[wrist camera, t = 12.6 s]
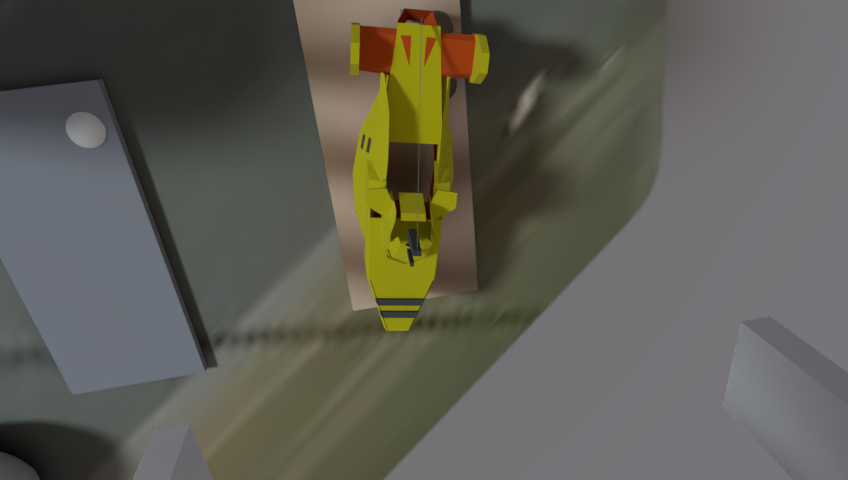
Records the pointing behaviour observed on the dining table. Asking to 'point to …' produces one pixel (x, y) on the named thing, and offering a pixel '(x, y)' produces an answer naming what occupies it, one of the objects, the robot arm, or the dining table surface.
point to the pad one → (87, 242)
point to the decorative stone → (15, 469)
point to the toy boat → (407, 123)
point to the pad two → (339, 131)
